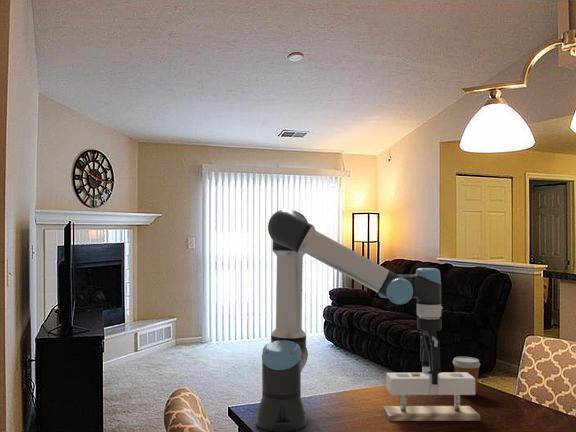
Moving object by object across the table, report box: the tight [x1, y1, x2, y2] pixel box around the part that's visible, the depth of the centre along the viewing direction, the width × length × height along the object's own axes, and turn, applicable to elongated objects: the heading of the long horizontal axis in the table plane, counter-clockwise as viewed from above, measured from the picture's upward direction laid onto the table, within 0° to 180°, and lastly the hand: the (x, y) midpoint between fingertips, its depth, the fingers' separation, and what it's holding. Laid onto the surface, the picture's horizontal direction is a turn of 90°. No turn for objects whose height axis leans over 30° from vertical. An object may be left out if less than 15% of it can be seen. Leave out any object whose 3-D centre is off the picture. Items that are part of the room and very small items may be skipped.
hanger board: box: [382, 405, 481, 422], centre depth 160 cm, size 28×9×2 cm, turn 91°
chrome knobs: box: [399, 395, 461, 412], centre depth 160 cm, size 19×2×7 cm, turn 91°
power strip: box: [385, 371, 476, 396], centre depth 161 cm, size 26×7×6 cm, turn 90°
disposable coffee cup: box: [452, 356, 481, 397], centre depth 184 cm, size 10×10×12 cm
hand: (430, 390), depth 161 cm, fingers closed on power strip, 7 cm apart
